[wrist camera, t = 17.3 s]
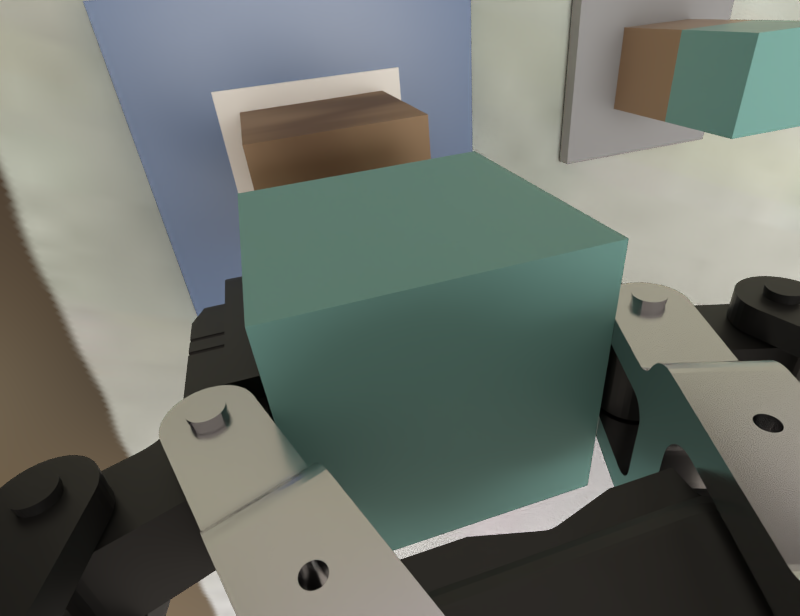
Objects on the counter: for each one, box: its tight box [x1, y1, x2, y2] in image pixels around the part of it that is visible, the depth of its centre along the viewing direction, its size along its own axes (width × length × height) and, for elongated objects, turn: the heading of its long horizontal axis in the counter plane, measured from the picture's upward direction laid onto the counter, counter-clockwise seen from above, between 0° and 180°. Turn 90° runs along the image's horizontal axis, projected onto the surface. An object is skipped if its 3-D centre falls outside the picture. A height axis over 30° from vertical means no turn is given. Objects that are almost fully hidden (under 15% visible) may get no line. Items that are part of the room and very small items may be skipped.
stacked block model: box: [560, 0, 800, 164], centre depth 18 cm, size 7×7×7 cm
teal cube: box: [238, 151, 628, 551], centre depth 9 cm, size 5×5×5 cm
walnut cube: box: [240, 91, 431, 191], centre depth 17 cm, size 5×5×5 cm
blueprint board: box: [83, 0, 472, 316], centre depth 19 cm, size 12×12×1 cm
